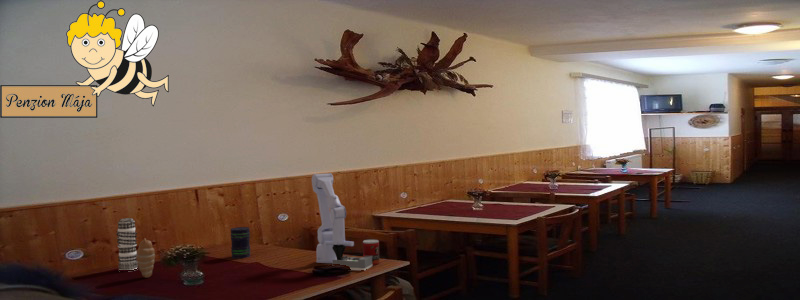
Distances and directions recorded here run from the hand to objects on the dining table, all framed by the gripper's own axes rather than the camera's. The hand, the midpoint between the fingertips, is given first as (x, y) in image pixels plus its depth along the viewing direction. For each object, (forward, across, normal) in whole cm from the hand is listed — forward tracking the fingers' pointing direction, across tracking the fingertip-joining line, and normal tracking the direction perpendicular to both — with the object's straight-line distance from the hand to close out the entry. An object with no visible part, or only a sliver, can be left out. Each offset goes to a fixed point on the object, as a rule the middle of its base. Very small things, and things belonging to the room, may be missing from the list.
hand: (339, 260), depth 282 cm
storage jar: (+3, -63, +13) cm, 65 cm away
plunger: (+2, +4, -1) cm, 4 cm away
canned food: (+3, +12, +10) cm, 16 cm away
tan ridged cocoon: (+3, -79, -38) cm, 88 cm away
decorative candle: (+3, -101, -26) cm, 105 cm away
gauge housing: (+3, +6, 0) cm, 7 cm away
